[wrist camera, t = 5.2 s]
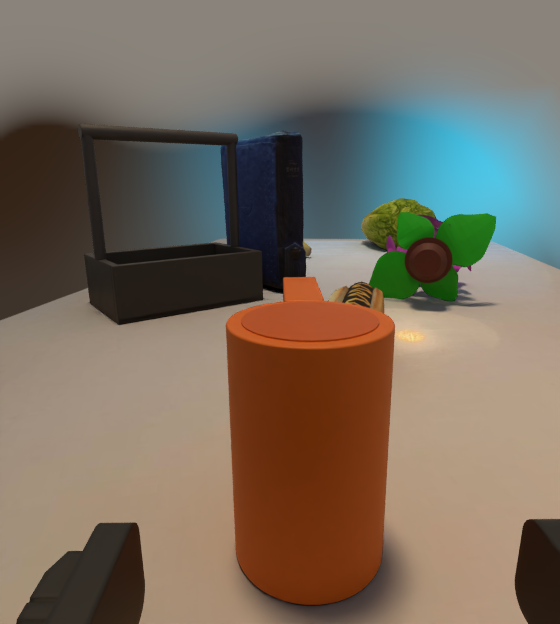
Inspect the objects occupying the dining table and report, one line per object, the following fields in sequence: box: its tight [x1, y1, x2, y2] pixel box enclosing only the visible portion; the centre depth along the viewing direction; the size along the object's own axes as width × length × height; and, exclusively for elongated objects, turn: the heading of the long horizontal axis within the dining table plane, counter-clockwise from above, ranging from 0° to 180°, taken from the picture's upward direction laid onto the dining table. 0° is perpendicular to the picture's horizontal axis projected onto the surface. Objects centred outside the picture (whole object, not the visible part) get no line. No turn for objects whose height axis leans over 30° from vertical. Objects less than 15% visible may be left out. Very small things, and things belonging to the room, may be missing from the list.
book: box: [221, 131, 306, 289], centre depth 63 cm, size 14×5×20 cm, turn 37°
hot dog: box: [328, 282, 384, 313], centre depth 37 cm, size 5×13×5 cm, turn 167°
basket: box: [78, 124, 263, 324], centre depth 54 cm, size 18×12×20 cm, turn 125°
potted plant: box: [369, 212, 496, 301], centre depth 66 cm, size 12×16×35 cm
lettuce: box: [361, 199, 436, 251], centre depth 104 cm, size 12×24×13 cm
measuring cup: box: [226, 277, 395, 605], centre depth 19 cm, size 10×6×9 cm, turn 0°
